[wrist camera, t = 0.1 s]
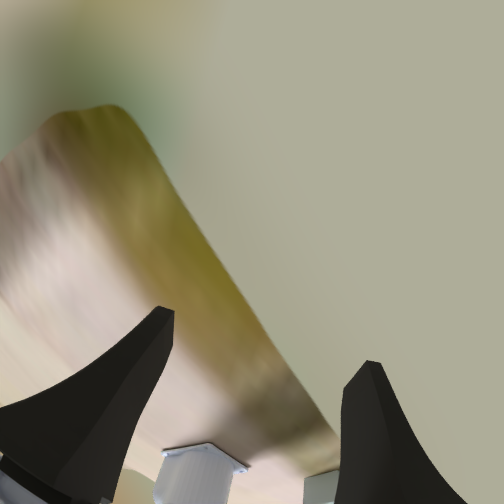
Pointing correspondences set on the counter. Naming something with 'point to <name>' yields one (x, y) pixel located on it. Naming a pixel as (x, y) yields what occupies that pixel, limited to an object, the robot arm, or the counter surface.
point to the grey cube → (321, 488)
